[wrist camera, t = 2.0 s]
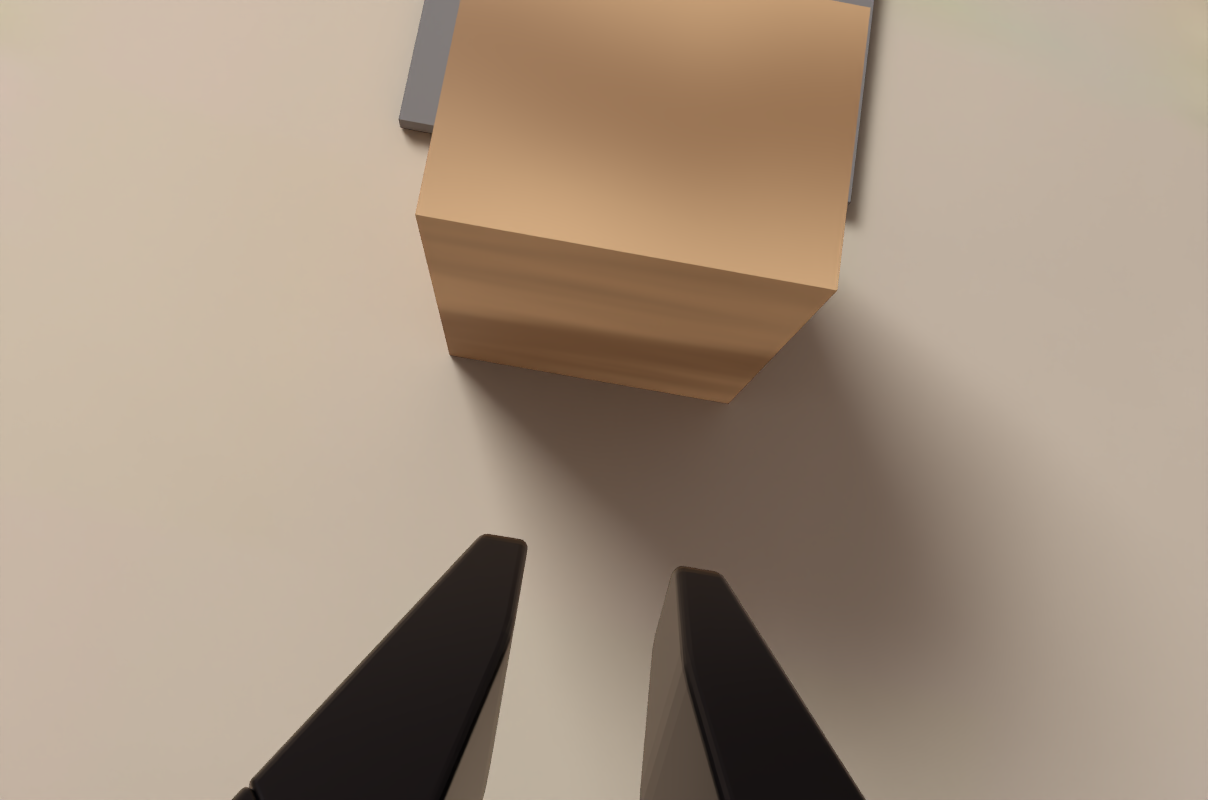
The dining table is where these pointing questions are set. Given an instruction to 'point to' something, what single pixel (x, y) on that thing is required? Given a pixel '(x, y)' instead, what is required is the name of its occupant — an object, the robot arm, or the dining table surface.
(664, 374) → the wooden block
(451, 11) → the mat
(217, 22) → the dining table surface
